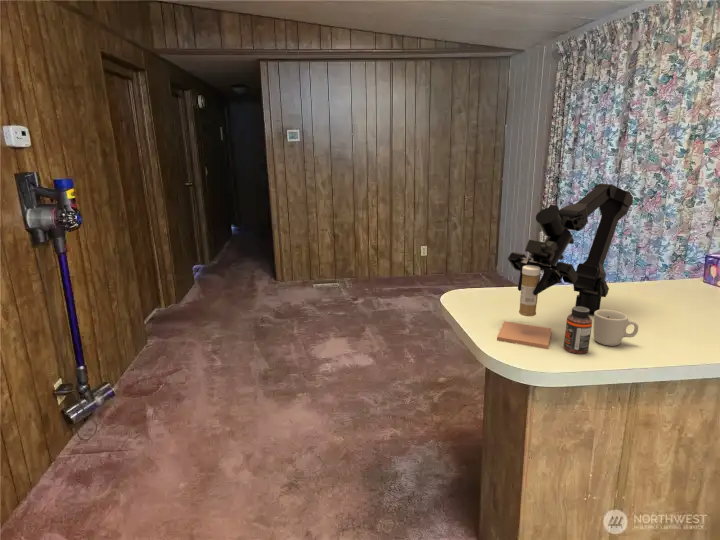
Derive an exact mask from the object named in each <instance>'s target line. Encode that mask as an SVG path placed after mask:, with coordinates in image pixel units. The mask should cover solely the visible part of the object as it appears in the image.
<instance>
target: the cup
mask: <svg viewBox="0 0 720 540" xmlns="http://www.w3.org/2000/svg"><path fill="white" fill-rule="evenodd" d="M630 325H633V327H634V329H633V331H632V332H631V333H628V332H627V328H628V326H630ZM638 332H639V324H638V323H637V321H635V320H633V319H629V316H628V315H626V314H625V313H624V312H621V311H618V310H612V309H599V310H597V311H595V312H594V315H593V339H594V341H596V342H597V343H599V344H601V345H604V346H610V347H612V346H613V347H614V346H615V347H616V346H618V345H619V344H621V342H622V340H623V338H633V337H635V336H637V334H638Z"/></svg>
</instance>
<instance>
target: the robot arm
mask: <svg viewBox="0 0 720 540" xmlns="http://www.w3.org/2000/svg"><path fill="white" fill-rule="evenodd" d="M633 201H634V196H633V195H632V194H631V192H630V191H628V190H624V189H622V188H619V187H617V186H616V185H614V184H612V183H601V182H600V183H597V184H595V186H594V187H593V189H592V190H591V191H590V192H588V193H587V194H586V195H584V196H583V197H582V198H581V199H580V200H579V201H577V202H575V203H574V204H569V205H565V206H564V207H561V208H559V207H558V205H556V204H550V205H549V207H546V208H543V209H541V210H540V211H539V212H537V214H536V215H535V221H536V223H537V224H538V226H539V227H540V230H541V232H542V233H543V234H544V235H545V236H546V239H545V240H544V242H543V241H539V240H535V239H534V240H533V239H528V241H527V243H526V244H527V245H526V246H525V249H524V251H525V252H527V253H529V254H530V255H529V257H530V258H532V259H533V260H531V259H528V257H527V256H526V255H525V253H520V252H515V251H513V252H511V253H510V254H509V255H508V257H507V260H508V262H509V264H511V267H513V269H514V270H516V271H519V279H518V285H517V290H518V291H519V292H521V285H522V276H523V275H522V274H523V273H522V268H523V266H526V265H533V266H538V267H540V271H543V274H542V276H541V279H539V283H538V284H537V286H536V288H535V290H534V292H533V294H534V295H537V294H538V295H539V294H541V293H542V292H544V291H545V290H547V289H549V288H551V287H552V286H555V285H556V284H561V283H562V280H563V282H564V283H567V284H571V285H572V286H573V292H577V293H578V294H577V295H576V299H575V306H574V307H576V306H580V307H585V308H588V309H589V310H590V311H589V315H588V316H591V315H592V316H594V312H595V311H597V310H601V301H602V298H606V297H607V295H608V294H609V289H610V287H609V286H608V284H607V282H606V276H607V274H606V270H605V266H604V264H605V260H606V258H607V255H608V252H609V249H610V246H611V243H612V241H613V238H614V234H615V231H616V229H617V226H618V222H619V221H620V220H621V219H622V218H623V217H625V216H626V215H627V214H628V213H629V209H630V207H631V206H632V205H633ZM597 209H599V211H600V215H601V217H600V220H599V223H598V226H597V228H596V232H595V235H594V238H593V240H592V242H591V243H592V244H591V247H590V250H589V252H588V256H587V258H586V260H585V261H584V262H582V263H578V264H577V267H576V270H575V267H574V265H573V264H572V263H568V262H567V263H566V262H563V259H564V255H563V253H564V252H565V251H566V249H567V247H568V245H573V244H575V243H574V242H575V240H574V237H573V236H574V235H573V233H571V231H574V232H579V231H581V230H583V229H584V228H585V226H586V225H587V224H588V223H589V217H590V215H591V214H593V213H594V212H595V211H596V210H597Z"/></svg>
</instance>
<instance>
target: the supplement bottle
mask: <svg viewBox="0 0 720 540" xmlns="http://www.w3.org/2000/svg"><path fill="white" fill-rule="evenodd" d="M589 311H590V310H589V309H588V308H585V307H580V306H576V307H575V306H573V307H572V308H571V313H569V314H568V316H567V317H566V323H565V330H564V331H565V333H564V340H563V348H564V350H566V351H567V352H570V353H573V354H577V355H579V354H580V355H581V354H586V353H587V352H588V351H589V349H590V341H591V333H592V326H593V319H592V318H591V316H590V315H589Z"/></svg>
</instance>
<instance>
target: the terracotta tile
mask: <svg viewBox="0 0 720 540" xmlns="http://www.w3.org/2000/svg"><path fill="white" fill-rule="evenodd" d="M551 335H552V327H545V326H540V325H533V324H525V323H518V322H513V321H508V320H507V321H506V320H504V321H503V323H502V326H501V328H500V330H499V332H498V335H497V336H496V338H497V339H496V341H498V340H499V342H504V341H506V342H505V343H510V342H512V343H511V344H516V343H517V345H523V346H530V347H534V346H535V348H539V349H540V348H541V349H547V350H549V346H550V342H551V341H550V340H551Z"/></svg>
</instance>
